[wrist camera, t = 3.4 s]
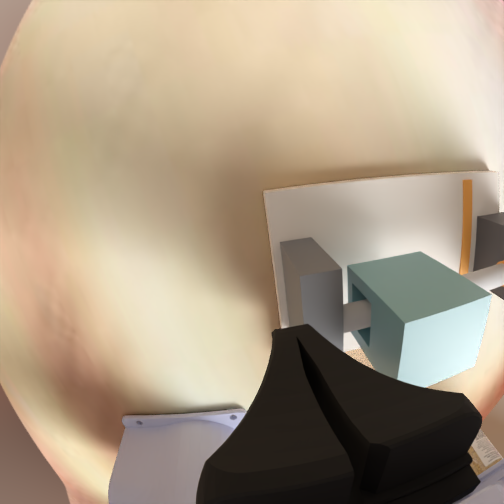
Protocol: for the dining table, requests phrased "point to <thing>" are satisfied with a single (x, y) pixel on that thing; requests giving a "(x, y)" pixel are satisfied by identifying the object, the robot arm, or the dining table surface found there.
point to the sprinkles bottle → (483, 453)
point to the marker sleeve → (418, 317)
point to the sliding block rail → (377, 239)
